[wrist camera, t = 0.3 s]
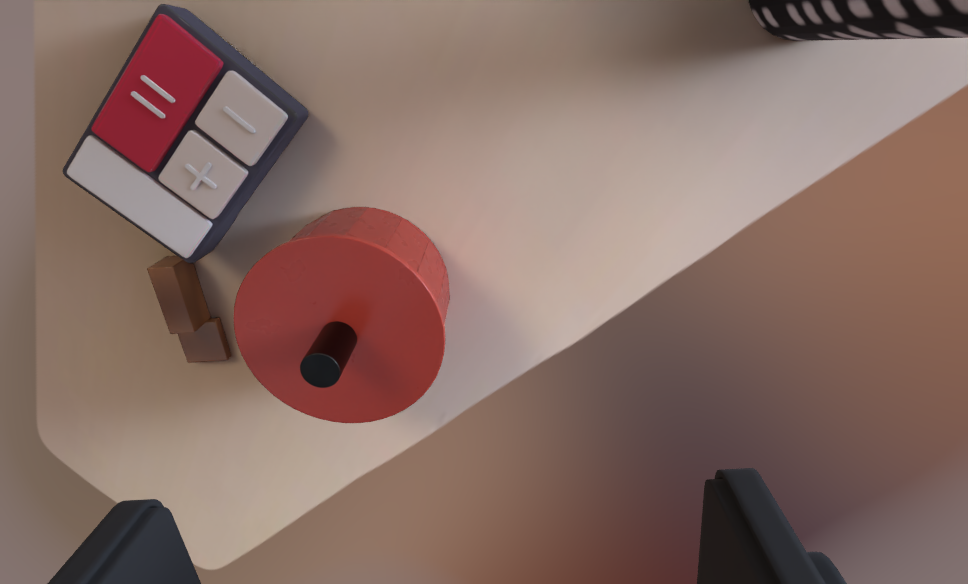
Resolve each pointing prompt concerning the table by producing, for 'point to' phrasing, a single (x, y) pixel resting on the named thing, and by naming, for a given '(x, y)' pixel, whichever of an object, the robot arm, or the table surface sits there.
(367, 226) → the pot
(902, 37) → the white-spotted black cylinder
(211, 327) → the stepped wooden block pair
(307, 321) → the lid
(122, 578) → the robot arm
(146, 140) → the calculator
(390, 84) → the table surface
